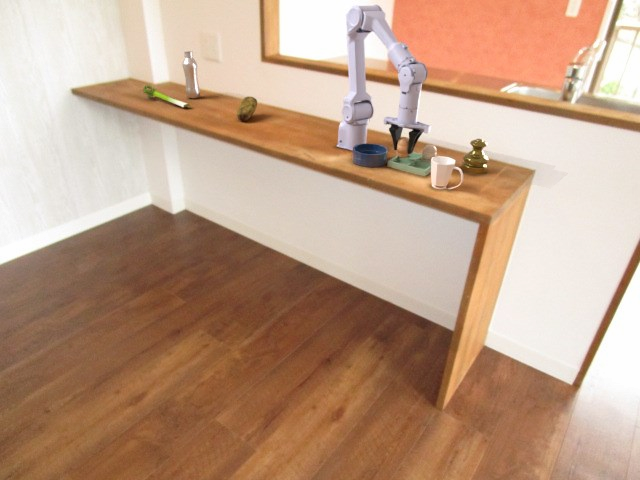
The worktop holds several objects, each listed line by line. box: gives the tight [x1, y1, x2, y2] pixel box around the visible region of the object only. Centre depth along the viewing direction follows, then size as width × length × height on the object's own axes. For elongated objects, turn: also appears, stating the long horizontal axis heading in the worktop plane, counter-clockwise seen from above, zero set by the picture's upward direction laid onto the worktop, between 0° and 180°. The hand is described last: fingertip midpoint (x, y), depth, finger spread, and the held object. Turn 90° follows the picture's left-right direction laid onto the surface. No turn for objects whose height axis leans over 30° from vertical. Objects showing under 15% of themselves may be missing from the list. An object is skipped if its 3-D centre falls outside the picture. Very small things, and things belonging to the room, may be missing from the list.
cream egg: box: [421, 143, 438, 163], centre depth 144 cm, size 4×4×7 cm
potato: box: [236, 96, 258, 122], centre depth 184 cm, size 8×13×8 cm, turn 151°
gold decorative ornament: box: [460, 138, 489, 175], centre depth 141 cm, size 7×7×10 cm
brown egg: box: [395, 136, 409, 158], centre depth 141 cm, size 4×4×7 cm
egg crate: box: [386, 151, 431, 177], centre depth 144 cm, size 13×13×2 cm
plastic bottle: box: [181, 51, 201, 99], centre depth 208 cm, size 6×7×20 cm
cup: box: [430, 155, 464, 191], centre depth 129 cm, size 7×10×8 cm
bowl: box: [351, 142, 389, 168], centre depth 146 cm, size 11×11×4 cm
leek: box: [142, 84, 191, 109], centre depth 204 cm, size 6×7×30 cm
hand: (403, 151), depth 142 cm, fingers closed on brown egg, 4 cm apart
